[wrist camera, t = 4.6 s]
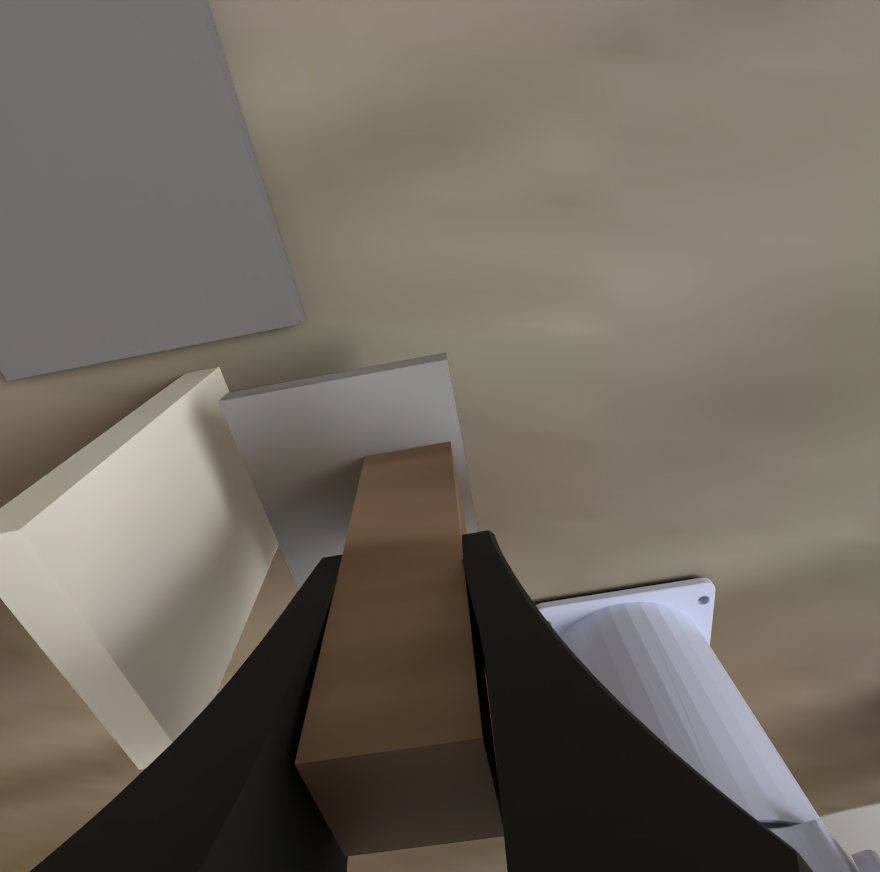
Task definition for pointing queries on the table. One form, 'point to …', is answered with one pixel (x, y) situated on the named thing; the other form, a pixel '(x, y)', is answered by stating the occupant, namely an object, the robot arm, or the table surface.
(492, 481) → the table surface
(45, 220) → the mat
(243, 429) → the turner
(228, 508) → the tile
